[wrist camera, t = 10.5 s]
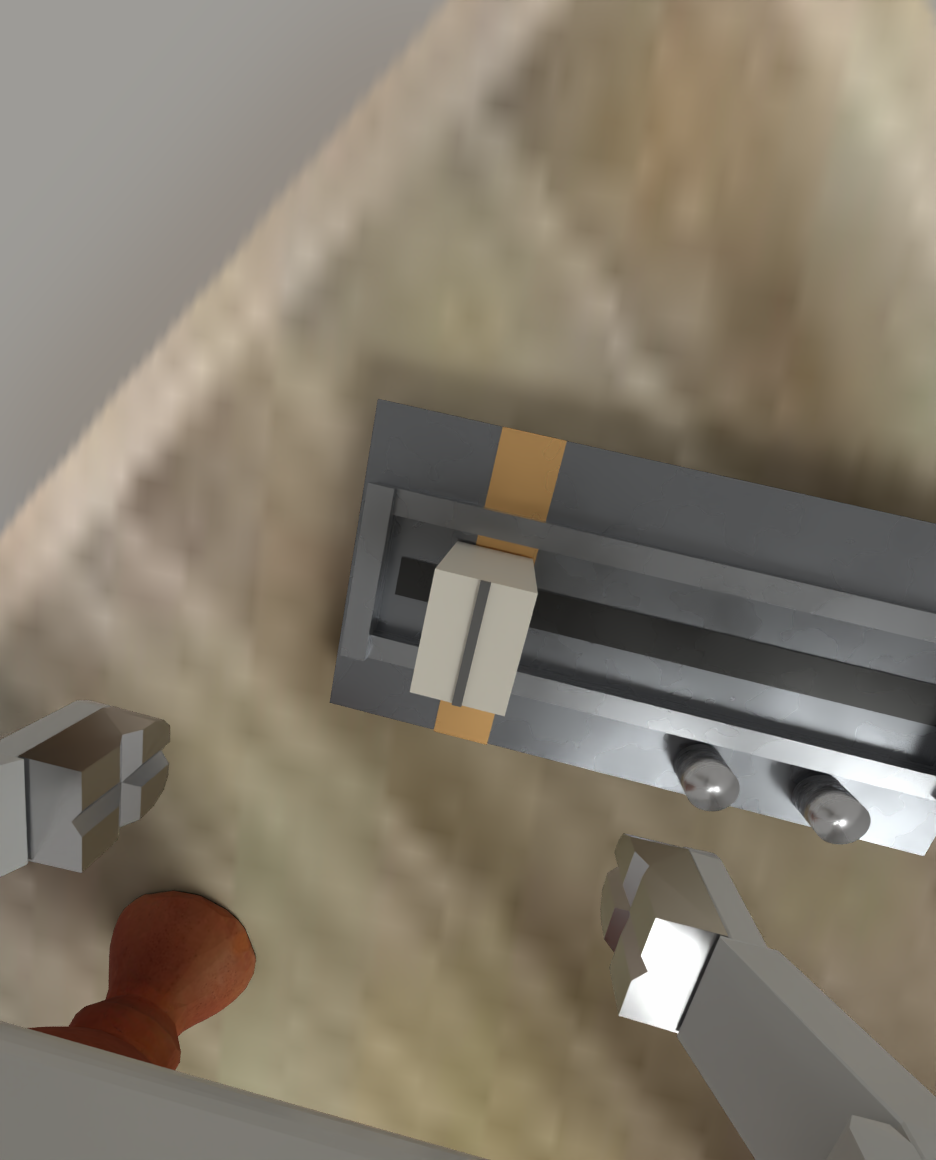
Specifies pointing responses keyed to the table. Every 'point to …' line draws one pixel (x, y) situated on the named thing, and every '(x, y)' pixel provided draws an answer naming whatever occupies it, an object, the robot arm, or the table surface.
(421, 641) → the fader cap
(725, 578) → the console
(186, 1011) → the terracotta clay pot
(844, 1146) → the robot arm
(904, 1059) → the table surface
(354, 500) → the table surface
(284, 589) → the table surface
